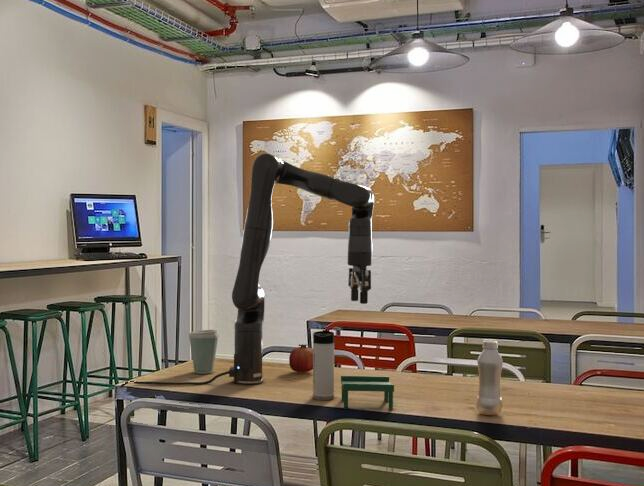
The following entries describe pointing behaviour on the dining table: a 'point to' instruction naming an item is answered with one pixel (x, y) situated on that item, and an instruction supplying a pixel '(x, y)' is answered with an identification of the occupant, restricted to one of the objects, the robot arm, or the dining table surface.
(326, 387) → the travel mug
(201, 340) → the disposable coffee cup
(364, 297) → the robot arm
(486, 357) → the plastic bottle
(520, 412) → the dining table surface
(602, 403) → the dining table surface
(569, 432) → the dining table surface
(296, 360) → the fruit
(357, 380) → the stand
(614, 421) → the dining table surface
